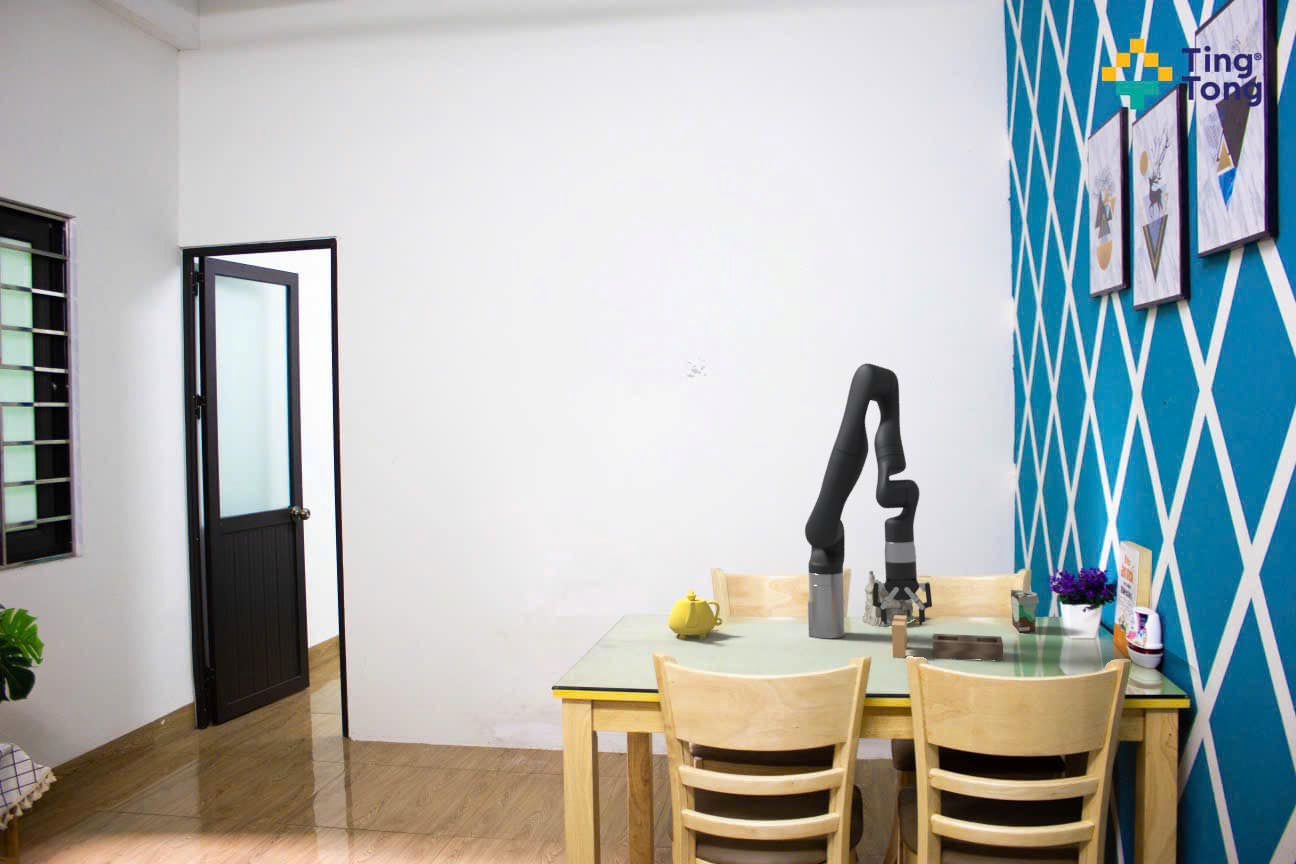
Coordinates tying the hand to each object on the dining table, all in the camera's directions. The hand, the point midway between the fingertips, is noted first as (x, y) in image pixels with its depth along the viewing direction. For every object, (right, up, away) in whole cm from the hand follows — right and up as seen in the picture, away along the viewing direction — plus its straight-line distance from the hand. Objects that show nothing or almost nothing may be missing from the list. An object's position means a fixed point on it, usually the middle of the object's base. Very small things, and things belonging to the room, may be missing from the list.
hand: (903, 623), depth 231 cm
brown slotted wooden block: (+14, -7, -5) cm, 17 cm away
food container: (+40, -6, +21) cm, 45 cm away
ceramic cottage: (+6, -7, +36) cm, 37 cm away
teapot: (-51, -8, +24) cm, 57 cm away
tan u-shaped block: (-1, -7, 0) cm, 7 cm away
